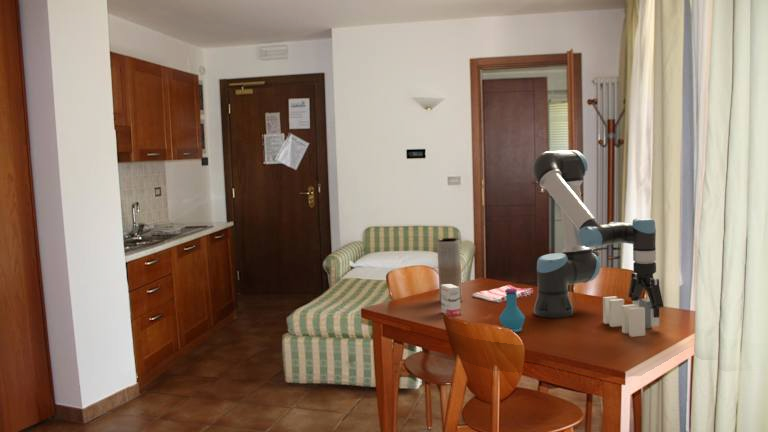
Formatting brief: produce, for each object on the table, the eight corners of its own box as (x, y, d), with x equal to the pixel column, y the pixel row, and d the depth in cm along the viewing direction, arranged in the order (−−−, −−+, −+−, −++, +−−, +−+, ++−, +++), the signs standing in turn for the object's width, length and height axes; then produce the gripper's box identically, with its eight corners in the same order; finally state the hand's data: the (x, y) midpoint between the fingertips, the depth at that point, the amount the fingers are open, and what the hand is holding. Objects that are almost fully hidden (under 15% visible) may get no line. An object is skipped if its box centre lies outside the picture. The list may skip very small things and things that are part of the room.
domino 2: (638, 332, 227) (637, 305, 226) (624, 333, 226) (624, 306, 225) (635, 330, 229) (634, 304, 228) (622, 332, 228) (621, 305, 227)
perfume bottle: (520, 334, 232) (518, 292, 231) (496, 331, 237) (494, 291, 236) (528, 327, 240) (527, 287, 239) (505, 325, 245) (503, 286, 244)
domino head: (618, 322, 240) (617, 297, 239) (605, 323, 239) (605, 298, 239) (615, 321, 242) (615, 296, 241) (603, 322, 241) (602, 297, 240)
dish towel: (534, 295, 294) (534, 287, 294) (498, 304, 281) (497, 296, 281) (507, 290, 308) (507, 282, 308) (471, 298, 295) (470, 291, 295)
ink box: (461, 315, 264) (460, 286, 263) (450, 316, 262) (448, 288, 261) (452, 310, 272) (450, 283, 271) (441, 312, 270) (439, 284, 269)
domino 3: (647, 328, 231) (646, 301, 230) (639, 324, 236) (639, 299, 235) (651, 327, 231) (651, 301, 230) (644, 324, 236) (643, 298, 235)
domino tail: (645, 335, 223) (644, 308, 222) (631, 336, 222) (631, 309, 221) (642, 334, 224) (642, 306, 223) (629, 335, 224) (628, 308, 223)
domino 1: (624, 325, 236) (624, 299, 235) (611, 326, 235) (611, 300, 234) (622, 324, 238) (621, 298, 237) (609, 325, 237) (608, 299, 236)
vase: (449, 298, 296) (446, 237, 293) (466, 300, 289) (464, 238, 286) (435, 302, 289) (432, 240, 286) (452, 305, 282) (449, 241, 279)
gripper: (674, 266, 220) (674, 329, 222) (636, 256, 243) (637, 313, 245) (653, 267, 219) (654, 331, 221) (617, 257, 242) (619, 315, 244)
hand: (645, 321), depth 233 cm, fingers open, 11 cm apart
